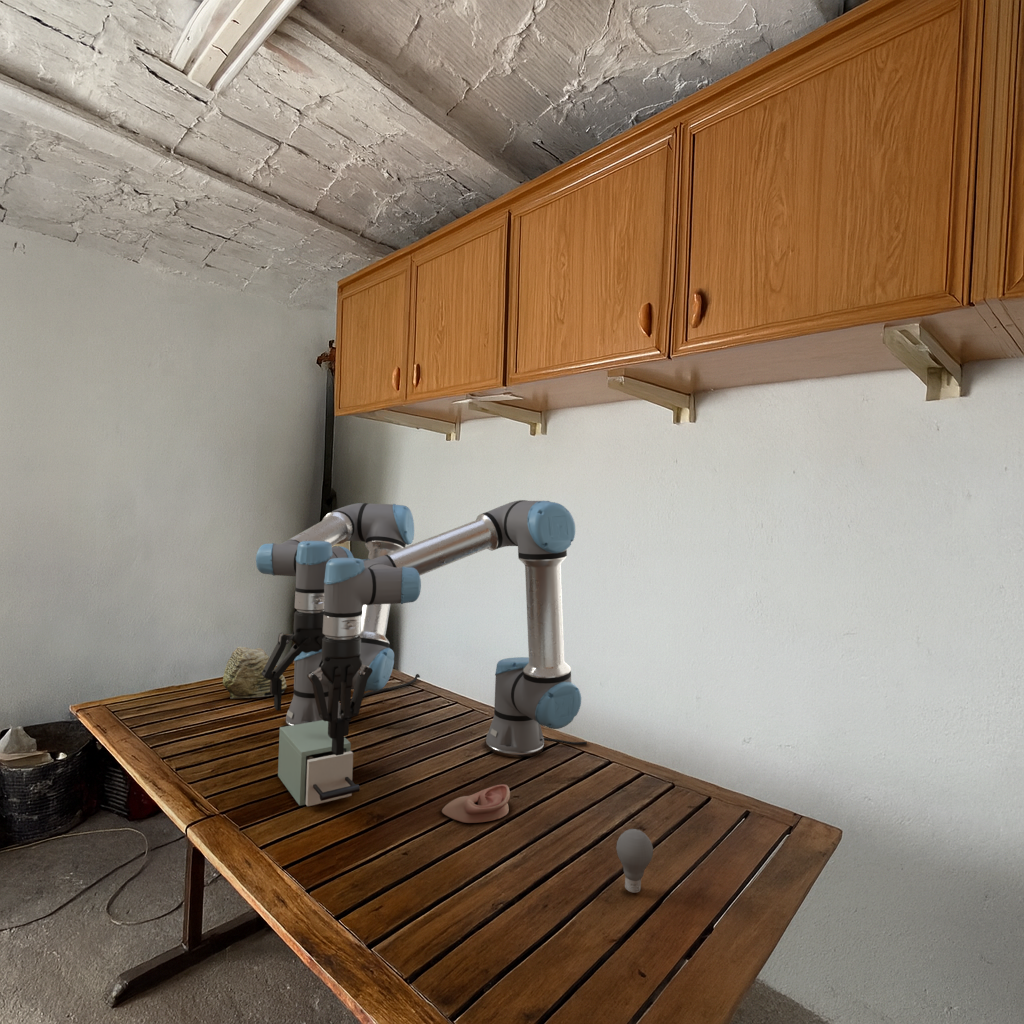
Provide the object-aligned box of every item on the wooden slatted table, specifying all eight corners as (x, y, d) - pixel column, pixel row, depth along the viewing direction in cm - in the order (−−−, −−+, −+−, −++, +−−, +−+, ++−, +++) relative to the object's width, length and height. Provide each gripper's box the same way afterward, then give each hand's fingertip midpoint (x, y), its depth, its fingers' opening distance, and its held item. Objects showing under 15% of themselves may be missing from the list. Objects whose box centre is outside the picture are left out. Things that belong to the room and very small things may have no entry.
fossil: (218, 695, 195) (220, 647, 195) (278, 685, 208) (279, 640, 207) (228, 703, 189) (230, 653, 188) (289, 692, 201) (290, 645, 201)
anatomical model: (437, 799, 126) (454, 775, 137) (436, 818, 126) (453, 793, 138) (502, 808, 124) (514, 783, 135) (501, 828, 124) (513, 801, 135)
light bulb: (610, 879, 108) (613, 822, 108) (644, 879, 109) (647, 822, 109) (619, 902, 102) (622, 840, 102) (655, 901, 103) (658, 840, 103)
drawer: (362, 807, 128) (364, 763, 128) (317, 819, 122) (318, 773, 122) (327, 769, 145) (329, 730, 145) (286, 778, 139) (287, 737, 139)
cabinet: (348, 794, 136) (350, 742, 135) (299, 806, 129) (301, 752, 129) (323, 766, 149) (325, 719, 148) (277, 776, 143) (279, 727, 142)
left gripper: (258, 616, 132) (254, 718, 132) (371, 609, 146) (367, 700, 146) (249, 610, 138) (245, 707, 138) (358, 604, 152) (355, 691, 153)
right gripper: (315, 642, 120) (311, 766, 120) (380, 636, 127) (375, 752, 128) (303, 634, 126) (299, 752, 126) (365, 629, 133) (361, 740, 134)
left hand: (308, 704), depth 142 cm, fingers open, 13 cm apart
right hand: (337, 752), depth 127 cm, fingers closed
